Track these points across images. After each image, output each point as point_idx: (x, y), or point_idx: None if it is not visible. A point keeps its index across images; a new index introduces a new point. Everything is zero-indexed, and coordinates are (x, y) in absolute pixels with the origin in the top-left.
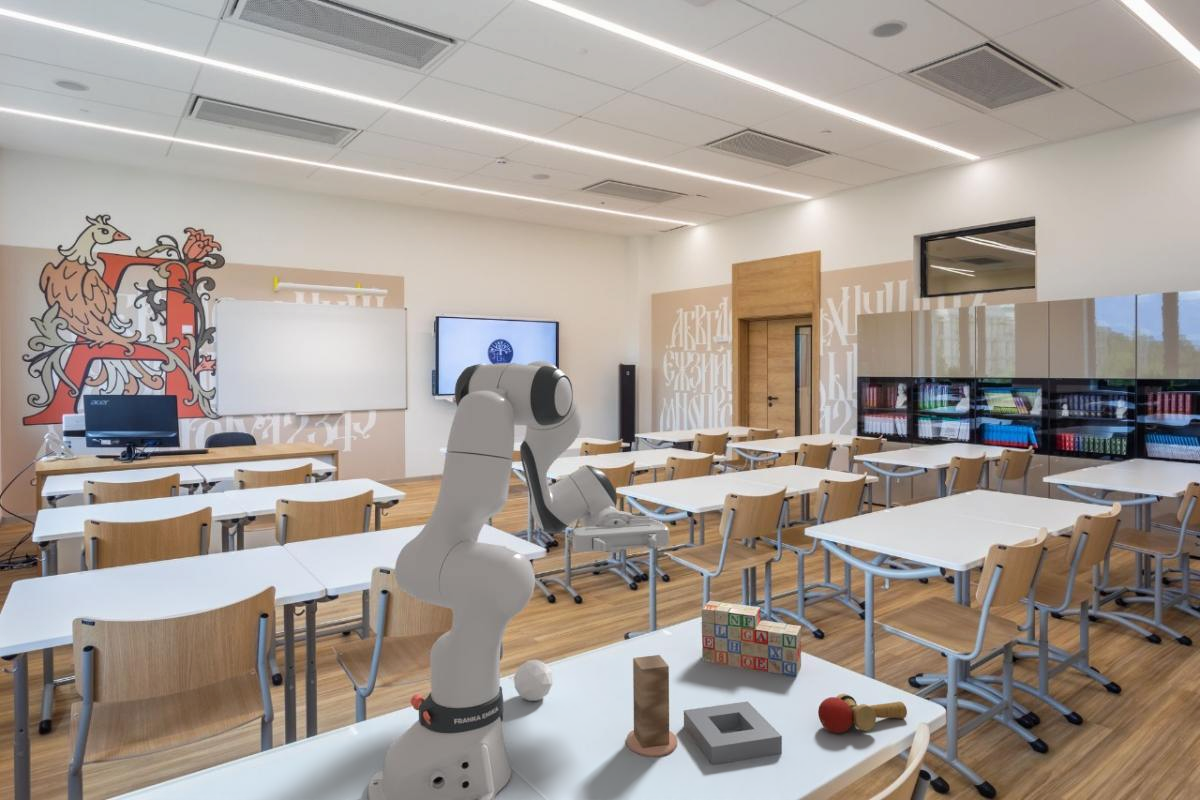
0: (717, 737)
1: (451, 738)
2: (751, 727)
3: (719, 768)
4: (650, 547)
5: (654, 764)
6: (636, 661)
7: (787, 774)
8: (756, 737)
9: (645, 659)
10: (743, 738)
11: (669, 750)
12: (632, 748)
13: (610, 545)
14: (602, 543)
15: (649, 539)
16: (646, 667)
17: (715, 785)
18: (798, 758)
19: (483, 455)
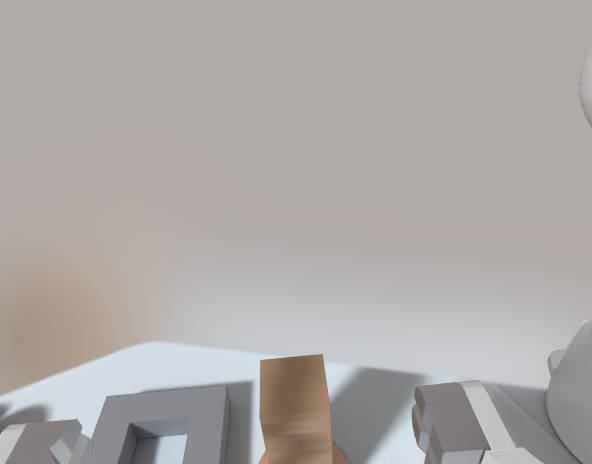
0: (203, 407)
1: None
2: (127, 436)
3: None
4: (89, 442)
5: None
6: (325, 391)
7: (147, 368)
8: (145, 398)
9: (301, 398)
10: (166, 398)
11: None
12: (343, 455)
13: (418, 387)
14: (496, 413)
15: (48, 446)
16: (309, 361)
17: (248, 361)
18: (104, 397)
19: None
